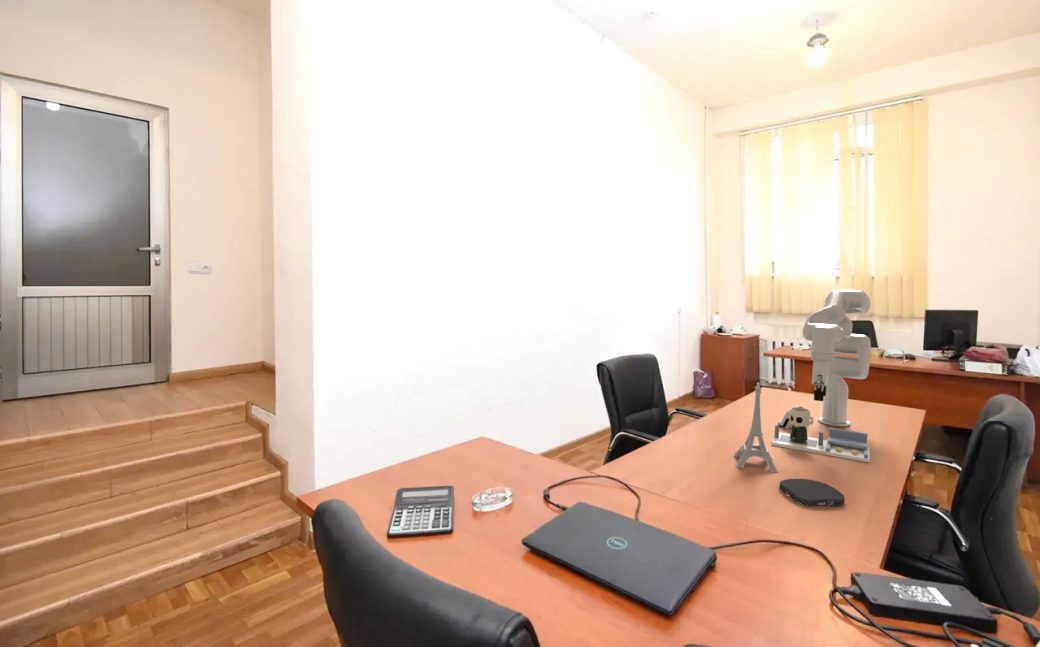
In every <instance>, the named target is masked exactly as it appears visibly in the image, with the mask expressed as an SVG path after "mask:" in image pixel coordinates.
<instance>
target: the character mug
mask: <svg viewBox="0 0 1040 647" xmlns="http://www.w3.org/2000/svg"><path fill="white" fill-rule="evenodd" d="M789 410H790V411H788V410H787V411H786V412H787V418H788V419H789V421H790V423H791V424H792V425H793V426H792V427H791V428H790V429H791V430H790V433H789V434H790V439H792V440H793V438H794V439H795V441H802V442H804V441H807V440H808V437H809V436H808V431H807V430H808V429H807V427H809V426H813V425H814V420H815V419H814V417H813V416H812V415H811V410H810V409H809V408H804V407H803V408H799V407H795V406H793V407H790V409H789ZM789 413H790V417H789Z"/></svg>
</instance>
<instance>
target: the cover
mask: <svg viewBox="0 0 1040 647" xmlns="http://www.w3.org/2000/svg"><path fill="white" fill-rule="evenodd" d="M828 432H829V436H828V438H829V439H828V438H827V440H828V443H833V444H839V445H845V446H851V447H857V448H864V449H867V444H868V436H869V435H868V432H860V431H855V430H848V429H842V428H841V429H840V428H833V427H829V431H828Z"/></svg>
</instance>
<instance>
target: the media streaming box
mask: <svg viewBox="0 0 1040 647" xmlns="http://www.w3.org/2000/svg"><path fill="white" fill-rule="evenodd" d="M779 488H780V489H781V490H782V491H783V492H784V493H783V492H782V491H781V490H780V489H779ZM779 488H778V489H779V490H780V491H781V492H782V493H783V494H785V495H786V494H787V495H789V496H790V497H791V498H792V500H793V499H794V500H795V501H794V500H793V501H794V502H796V501H797V502H799V503H801V504H800V505H802V504H804V505H803V506H805V505H808V506H807V507H811V506H830V507H842V506H841V505H843V504H844V505H845V495H844V494H843V493H842V492H840V490H837V488H834V487H833V486H831V485H830V484H827V483H825V482H822V481H817V480H814V479H807V478H788V479H782V480H781V481H779ZM787 495H786V496H787ZM790 497H789V498H790ZM791 498H790V499H791ZM797 502H796V503H797ZM799 503H798V504H799ZM844 505H843V506H844Z"/></svg>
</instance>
